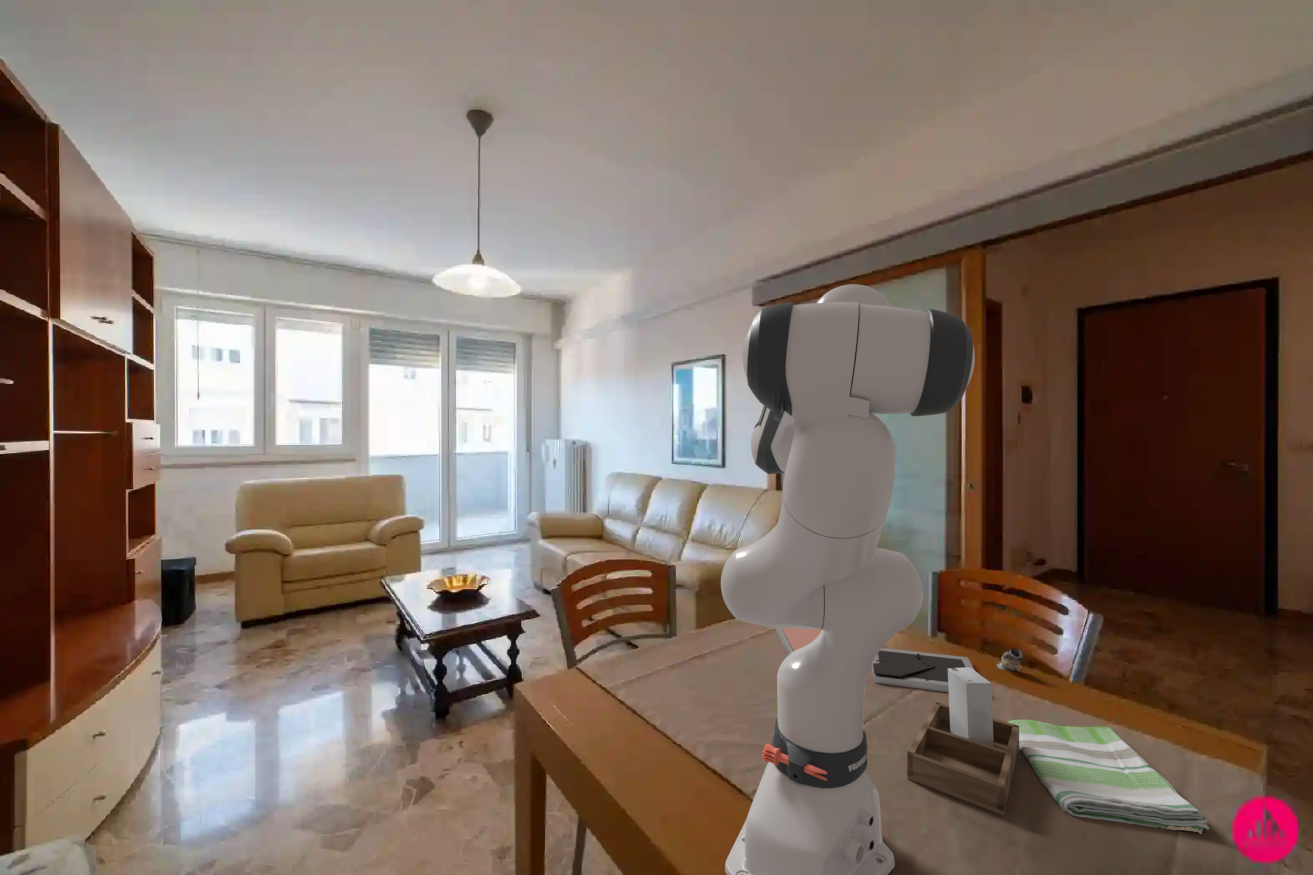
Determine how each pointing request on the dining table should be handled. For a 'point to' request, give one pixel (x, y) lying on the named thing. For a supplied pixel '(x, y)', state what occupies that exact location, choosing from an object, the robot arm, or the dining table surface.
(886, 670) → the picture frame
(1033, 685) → the dining table surface
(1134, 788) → the dish towel
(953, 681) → the skincare box
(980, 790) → the walnut slot rack
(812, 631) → the notebook
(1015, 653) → the vase
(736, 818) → the dining table surface
